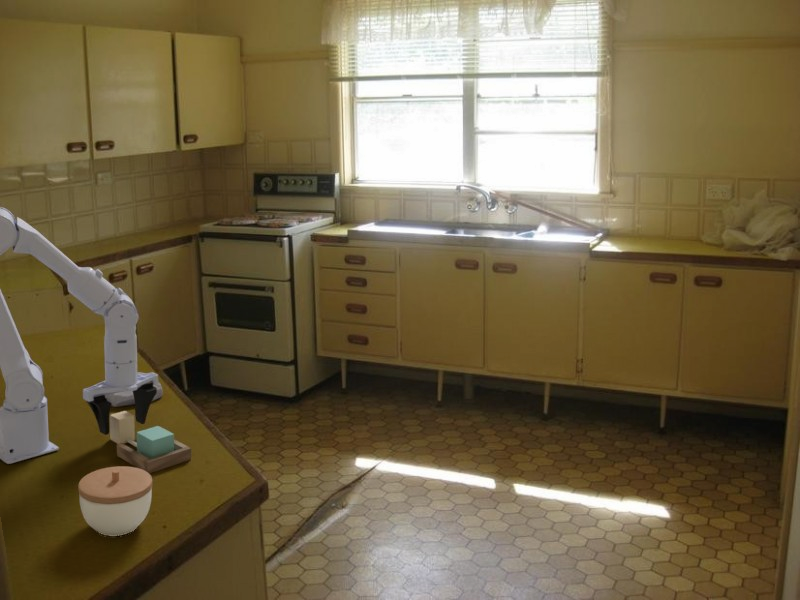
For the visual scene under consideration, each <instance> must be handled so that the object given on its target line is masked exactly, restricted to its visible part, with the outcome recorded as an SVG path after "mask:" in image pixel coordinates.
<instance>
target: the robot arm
mask: <svg viewBox="0 0 800 600" xmlns="http://www.w3.org/2000/svg"><path fill="white" fill-rule="evenodd" d="M11 247H12V253H15V254H29V255H31V256H33V257H34V258H36V259H37V260H38V261H39V262H41V263H42V264H43V265H45V266H46V267H48V268H49V269H50V270H51V271H53V272H55V274H57V275H59V276H60V277H61V278H62V279H64V280H65V281H66V284H67V286H66V287H67V292H68V293H70V294H71V295H72V296H73V297H74V298H76V299H77V300H78V301H80V302H81V303H82V304H83V305H85V306H86V307H87V308H88V309H90V310H91V312H93V313H94V314H97V315H100V316H102V317H103V320H104V335H103V344H104V345H103V346H104V347H103V348H104V349H103V350H104V378H105V380H103V381H101V382H98V383H96V384H94V385H92V386H89V387H86V388H82V399H83V400H84V401H86V403H87V404H88V406H89V407H90V409H91V411H92V412H93V415H94V418H95V420H96V422H97V425H98V430H99V433H101V434H103V435H107V436H108V435H109V434H110V415H111V414H110V412H111V407H112V403H110V402H109V401H107V398H105V396H108V395H112V394H116V393H119V392H123V391H128V392H130V391H133V395H134V400H135V404H134V413H135V414H134V418H135V421H136V422H137V423H139V424H140V425H145V424H146V419H147V416H148V413H149V408H150V406H151V403H152V402H153V401H152V400H153V398H154V396H155V395H156V393H157V388H156V387H154V386H153V385H156V384H158V382H159V374H158V373H155V372H154V371H153V372H148V373H145V374H137V372H138V345H137V344H138V343H137V341H138V339H137V338H138V336H137V334H136V330H137V326H136V325H137V323H138V321H139V319H140V315H139V314H138V310H137V308H136V306H135V303H134V302H133V299H131V298H130V297H129V295H128V294H127V293H125V292H124V290H123V289H122V288H120V287H118V288H117V287H115V286H114V285H113V284H112V283H110V281H108V280H107V279H105V278H104V274H103V272H102V271H101V270H100V269H99V268H97V269H95V270H94V269H93V268H92V267H90V266H86V267H85V266H84V267H83V266H82V267H81V266H78V265H77V264H76V263H75V262H74V261H72V260H71V259H70V258H69V257H68V256H67V255H66V254H64V252H62V251H61V250H60V249H59V248H57V246H56V245H54V244H53V243H52V242H51V241H49V240H48V239H47V238H46V237H45V236H44V235H43V234H41V232H39V230H37V229H36V228H34V227H33V226H31V225H30V224H29V223H27V222H26V221H25V220H24V219H21V218H20V217H19V216H17V217H16V218H15V215H14V214H13V213H12V212H11V211H10V210H9V209H7V208H5V207H2V206H0V256H1V255H3V254H4V253H5V252H7V251H8V250H9V249H10V248H11ZM0 370H1V374H2V378H3V379H4V380H3V381H4V383H5V386H6V387H5V391H4V396H5V399H4V400H3V402H2V403H3V405H1V406H0V460H1V461H2V462H4V463H5V464H7V465H9V464H10V465H11V464H14V463H17V462H21V461H24V460H29V459H31V458H35V457H39V456H42V455H45V454H49V453H51V452H56V451H59V449H60V447H59V446H58V445H56V444H55V443H53V442H51V441H50V440H49V439H50V437H49V416H48V415H49V413H48V398H47V397H46V396H45V387H44V384H43V381H44V380H43V379H44V374H43V370H42V369H41V367H40V366H39V365H38V364H37V363H35V362H34V360H32V359H31V356H30V354H29V352H28V350H27V348H26V347H25V345H24V342H23V340H22V338H21V335H20V333H19V331H18V329H17V326H16V323H15V321H14V319H13V316H12V314H11V311H10V309H9V307H8V304H7V301H6V299H5V296H4V295H3V293H2V290H1V288H0Z"/></svg>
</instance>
